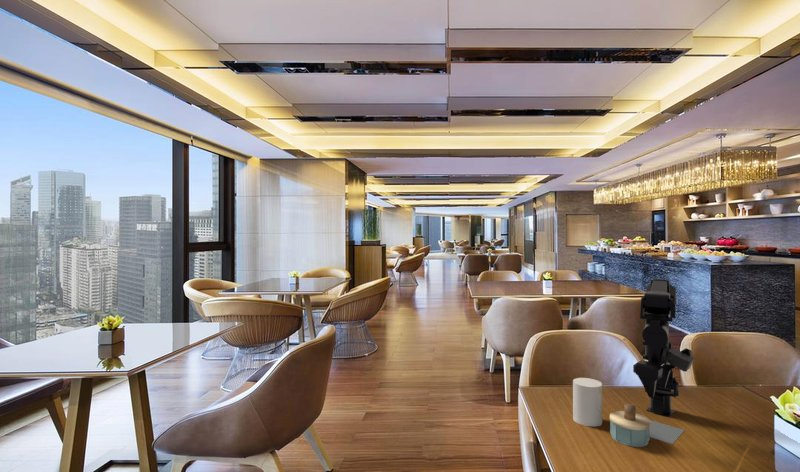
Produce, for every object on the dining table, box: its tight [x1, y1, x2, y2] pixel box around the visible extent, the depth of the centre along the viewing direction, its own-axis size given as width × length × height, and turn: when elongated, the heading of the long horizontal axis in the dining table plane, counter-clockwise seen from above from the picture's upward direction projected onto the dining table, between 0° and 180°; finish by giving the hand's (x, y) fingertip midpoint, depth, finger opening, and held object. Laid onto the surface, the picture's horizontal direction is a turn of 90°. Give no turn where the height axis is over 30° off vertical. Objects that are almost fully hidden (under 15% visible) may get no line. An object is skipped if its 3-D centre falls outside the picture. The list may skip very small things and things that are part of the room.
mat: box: [649, 419, 686, 445], centre depth 124 cm, size 12×12×1 cm
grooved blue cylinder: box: [609, 420, 651, 448], centre depth 119 cm, size 9×9×5 cm
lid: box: [609, 403, 652, 430], centre depth 118 cm, size 10×10×4 cm
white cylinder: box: [572, 377, 603, 427], centre depth 130 cm, size 8×8×12 cm
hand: (657, 392), depth 121 cm, fingers open, 9 cm apart
